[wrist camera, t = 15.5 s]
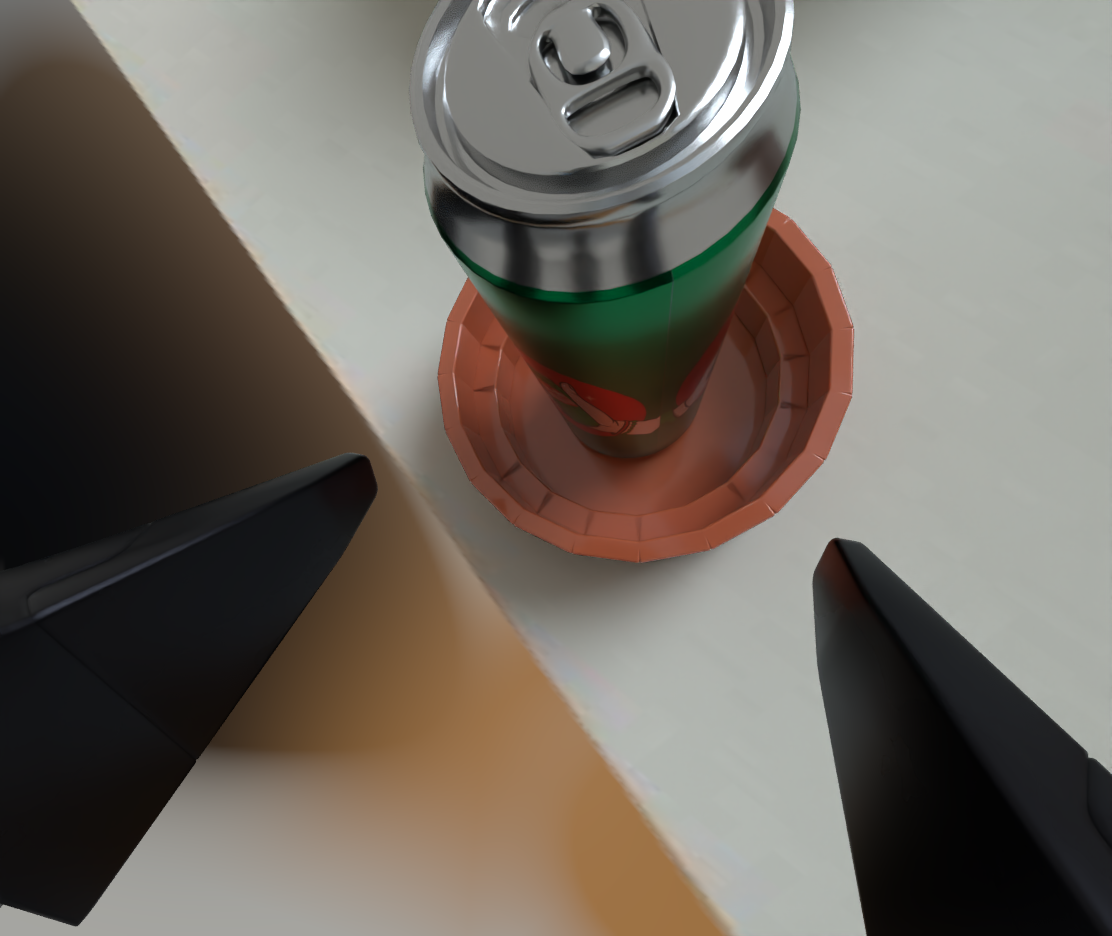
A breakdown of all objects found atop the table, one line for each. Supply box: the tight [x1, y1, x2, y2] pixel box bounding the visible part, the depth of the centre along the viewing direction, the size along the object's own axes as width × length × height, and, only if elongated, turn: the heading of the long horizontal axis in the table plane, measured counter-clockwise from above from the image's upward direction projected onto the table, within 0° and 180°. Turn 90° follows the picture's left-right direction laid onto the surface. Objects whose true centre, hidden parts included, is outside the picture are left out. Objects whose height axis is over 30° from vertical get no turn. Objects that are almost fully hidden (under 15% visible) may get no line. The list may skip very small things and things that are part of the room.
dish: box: [438, 208, 854, 563], centre depth 15 cm, size 12×12×4 cm
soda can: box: [409, 0, 801, 458], centre depth 11 cm, size 5×5×12 cm
